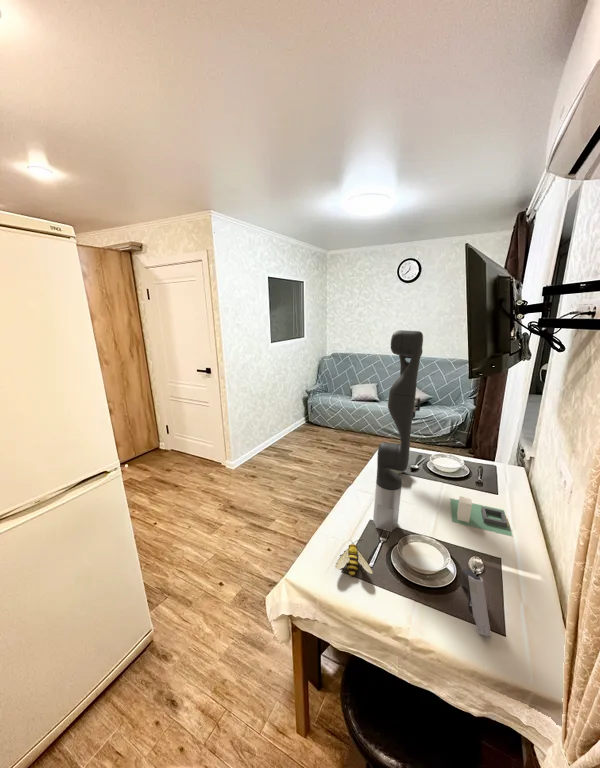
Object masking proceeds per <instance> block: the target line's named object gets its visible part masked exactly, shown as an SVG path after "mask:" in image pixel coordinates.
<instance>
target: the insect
mask: <svg viewBox="0 0 600 768" xmlns="http://www.w3.org/2000/svg"><path fill="white" fill-rule="evenodd" d="M358 541H361V542H363V540H362V539H359V540H358V539H357V540H355V541H354V542H353V541H351V543H350V544H349V545H348V548H347V549H346V550H344V551H343V553H342V554H340V555H339V556H340V557H339V558H338V560H337V561H336V563H335V569H336V570H341V569H342V568H344V567H345V566H346V568H347V571H348V574H349V575H350V577H352V578H353V577H354V576H355V574H356V573H357V572H358V568H359V564H360V565H361V569H362V574H363V575H364V574H365V571H366V572H367V573H369V574H373V570H372V568H371V566H370V564H369V562H368V561H367V559H366V558H365V557H364V556H363V554H362V553H361V552H360V551H359V549H358V546H357V545H356V544H355V543H356V542H358Z"/></svg>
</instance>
